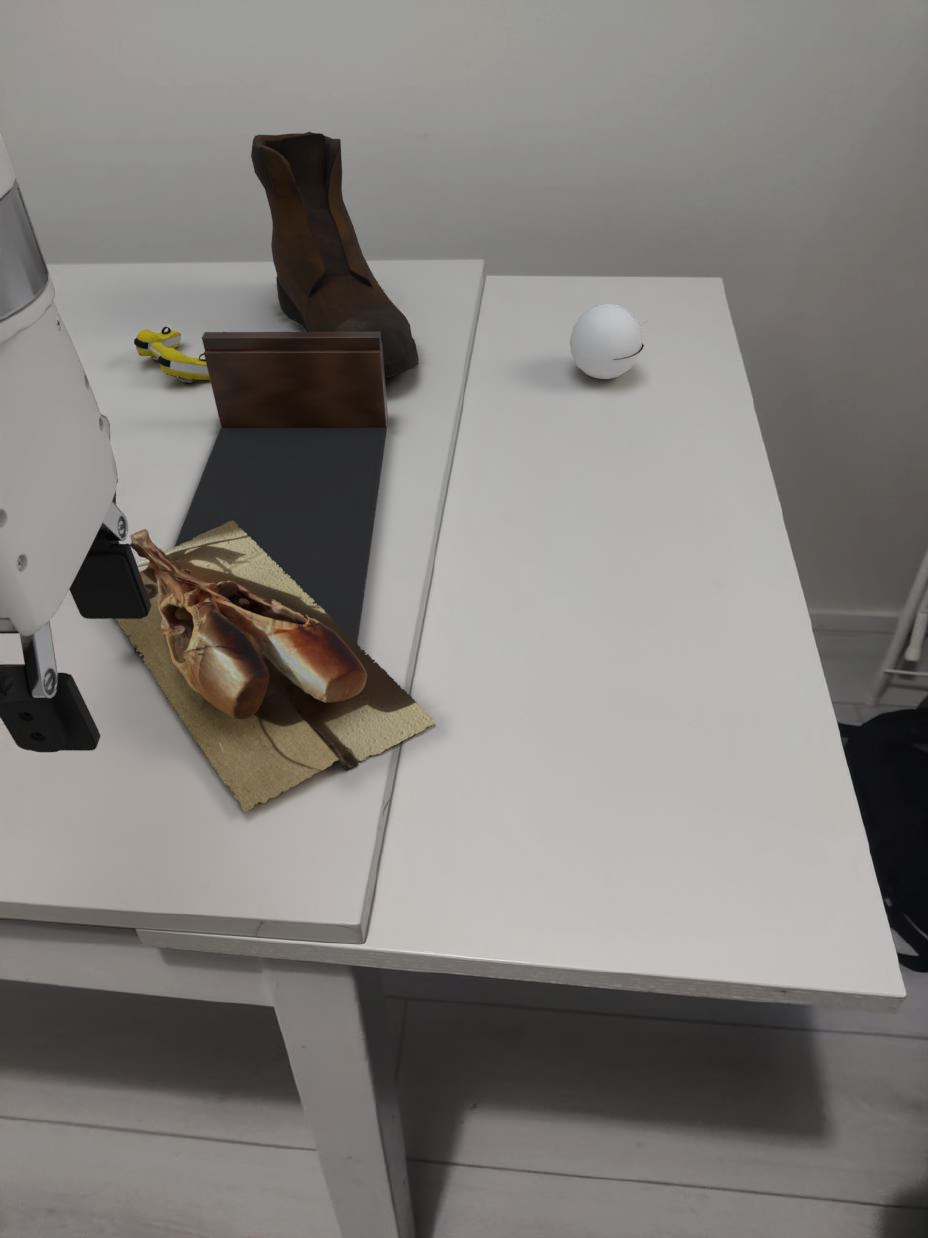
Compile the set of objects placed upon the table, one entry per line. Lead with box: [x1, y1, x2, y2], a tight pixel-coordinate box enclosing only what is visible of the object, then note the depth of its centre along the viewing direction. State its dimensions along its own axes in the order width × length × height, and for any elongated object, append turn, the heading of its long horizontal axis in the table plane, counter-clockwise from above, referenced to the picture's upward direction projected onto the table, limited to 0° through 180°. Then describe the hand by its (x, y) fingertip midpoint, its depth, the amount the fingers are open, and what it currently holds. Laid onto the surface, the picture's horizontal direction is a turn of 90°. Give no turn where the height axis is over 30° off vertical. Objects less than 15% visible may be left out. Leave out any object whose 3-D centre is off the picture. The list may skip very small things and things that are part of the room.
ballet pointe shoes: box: [115, 521, 437, 813], centre depth 60 cm, size 14×7×28 cm
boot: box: [250, 131, 420, 379], centre depth 91 cm, size 11×30×20 cm, turn 27°
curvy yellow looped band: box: [133, 326, 210, 384], centre depth 92 cm, size 10×6×4 cm, turn 42°
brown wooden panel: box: [201, 331, 389, 429], centre depth 82 cm, size 16×2×9 cm, turn 89°
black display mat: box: [134, 427, 387, 654], centre depth 74 cm, size 16×30×1 cm, turn 179°
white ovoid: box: [569, 303, 648, 380], centre depth 89 cm, size 10×7×7 cm
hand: (90, 672), depth 38 cm, fingers open, 6 cm apart
